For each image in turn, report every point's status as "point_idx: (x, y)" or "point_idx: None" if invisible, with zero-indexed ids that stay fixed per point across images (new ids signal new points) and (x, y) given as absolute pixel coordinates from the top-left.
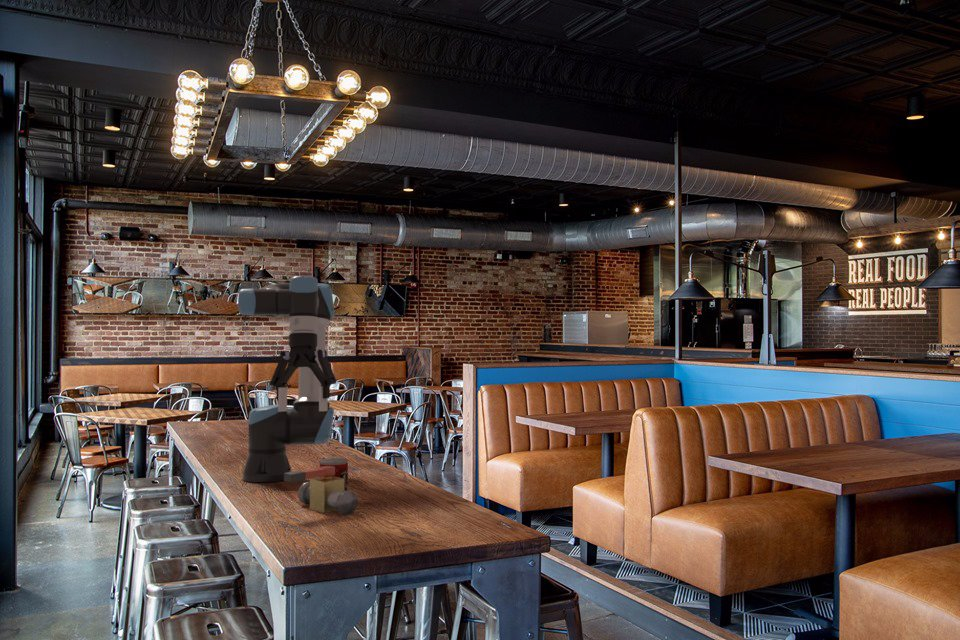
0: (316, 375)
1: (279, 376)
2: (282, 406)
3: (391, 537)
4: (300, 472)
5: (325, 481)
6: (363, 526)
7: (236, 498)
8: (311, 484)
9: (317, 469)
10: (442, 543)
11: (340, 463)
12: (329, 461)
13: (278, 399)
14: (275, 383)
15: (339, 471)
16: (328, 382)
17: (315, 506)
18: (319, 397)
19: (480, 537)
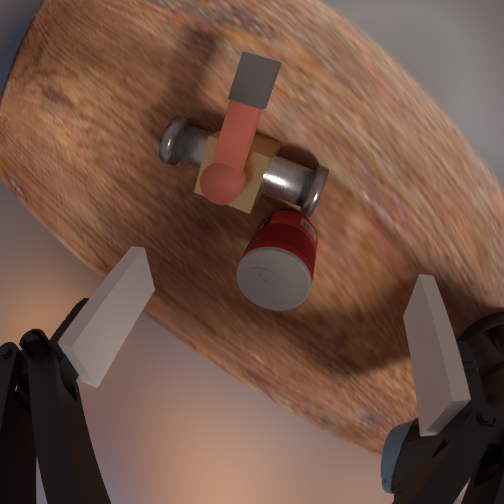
0: (55, 426)
1: (479, 492)
2: (419, 309)
3: (62, 64)
4: (238, 88)
5: (211, 144)
6: (117, 83)
7: (487, 188)
8: (266, 152)
9: (228, 152)
10: (19, 84)
11: (240, 261)
12: (286, 280)
13: (450, 328)
14: (501, 432)
15: (246, 249)
16: (13, 350)
17: (260, 136)
18: (103, 295)
19: (8, 128)
